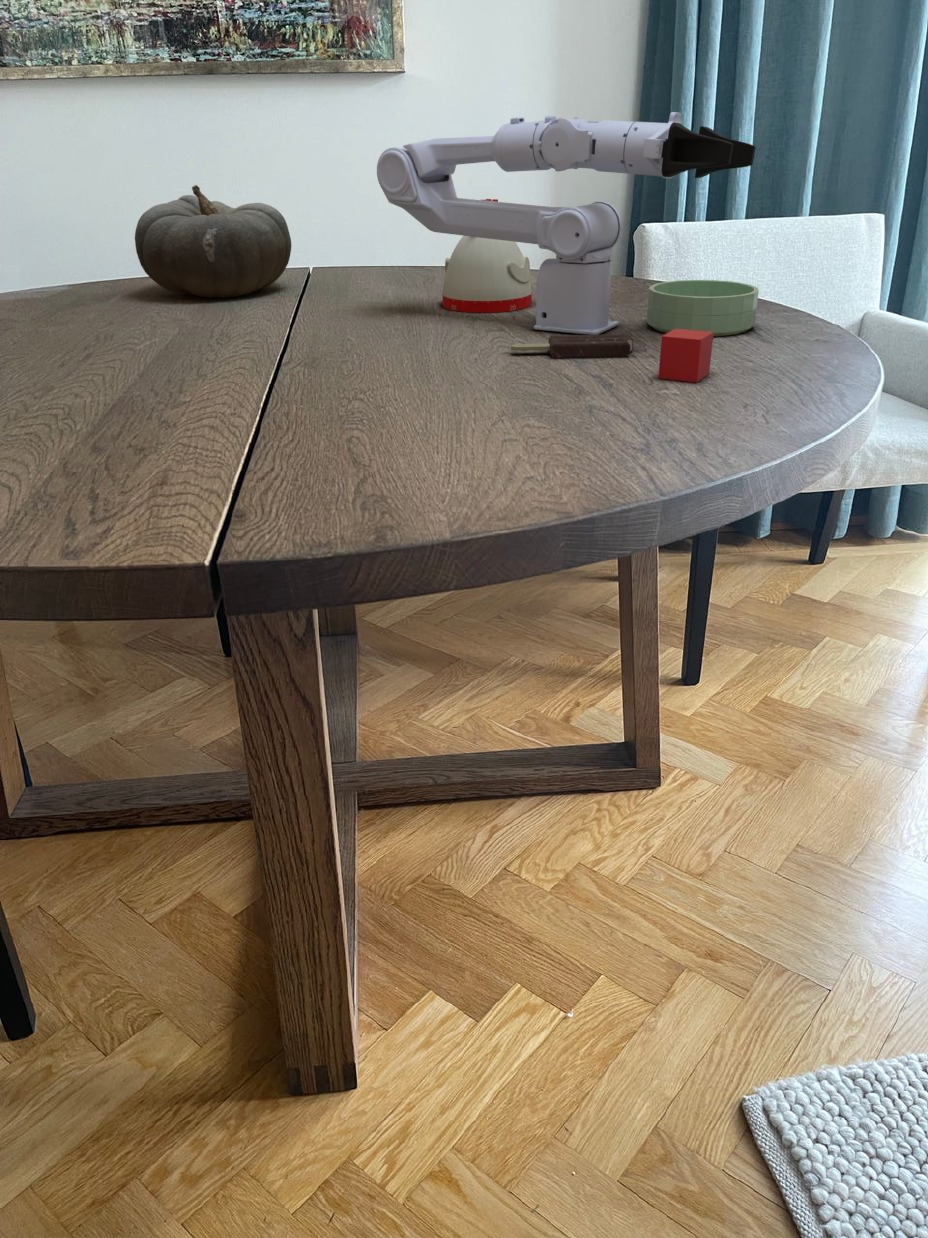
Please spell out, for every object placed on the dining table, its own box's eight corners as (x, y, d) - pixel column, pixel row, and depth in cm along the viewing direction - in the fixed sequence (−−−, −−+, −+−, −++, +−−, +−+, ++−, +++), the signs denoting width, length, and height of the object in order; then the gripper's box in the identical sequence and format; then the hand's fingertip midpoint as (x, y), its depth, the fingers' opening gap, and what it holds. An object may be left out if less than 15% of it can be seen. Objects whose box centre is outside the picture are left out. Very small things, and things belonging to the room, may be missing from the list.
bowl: (631, 331, 125) (633, 292, 122) (667, 313, 135) (670, 277, 133) (736, 341, 118) (741, 300, 116) (765, 321, 129) (770, 283, 127)
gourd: (177, 264, 173) (172, 162, 163) (307, 287, 172) (310, 187, 162) (116, 302, 153) (106, 189, 143) (262, 329, 151) (263, 217, 141)
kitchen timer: (547, 300, 147) (549, 196, 140) (503, 315, 137) (503, 204, 129) (472, 294, 153) (471, 194, 146) (425, 307, 143) (421, 201, 136)
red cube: (658, 378, 103) (661, 335, 100) (671, 369, 106) (675, 328, 104) (696, 382, 101) (701, 339, 98) (709, 373, 104) (713, 331, 102)
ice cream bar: (511, 359, 112) (636, 356, 112) (511, 345, 111) (636, 342, 111) (509, 349, 117) (629, 347, 117) (510, 336, 116) (630, 333, 116)
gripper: (612, 106, 106) (727, 111, 100) (663, 114, 117) (769, 118, 111) (605, 174, 109) (715, 183, 103) (654, 176, 120) (757, 184, 114)
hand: (742, 154), depth 107 cm, fingers open, 7 cm apart
